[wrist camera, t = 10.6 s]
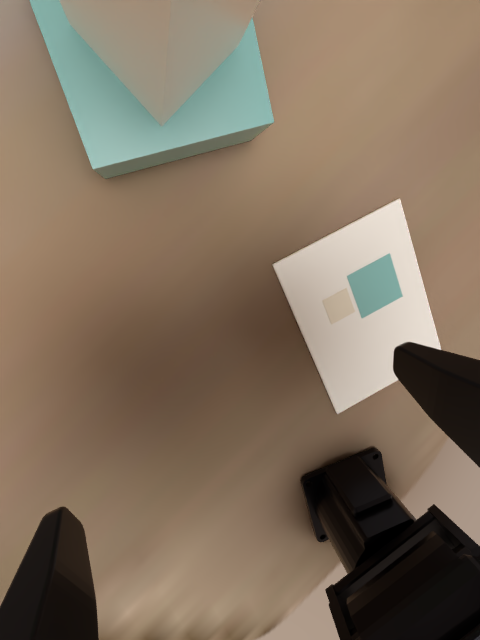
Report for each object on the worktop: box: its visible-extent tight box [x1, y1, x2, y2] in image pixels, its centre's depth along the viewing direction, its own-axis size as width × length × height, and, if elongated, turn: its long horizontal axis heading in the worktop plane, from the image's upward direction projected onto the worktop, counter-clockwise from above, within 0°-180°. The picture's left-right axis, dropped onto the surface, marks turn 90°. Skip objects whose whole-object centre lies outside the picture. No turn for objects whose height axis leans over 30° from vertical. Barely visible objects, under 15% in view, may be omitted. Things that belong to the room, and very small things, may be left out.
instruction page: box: [272, 198, 441, 414], centre depth 24 cm, size 12×9×1 cm
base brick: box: [30, 0, 274, 179], centre depth 16 cm, size 8×8×4 cm
